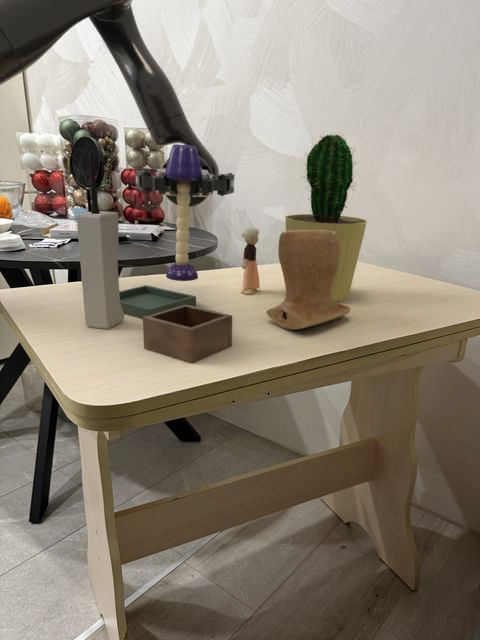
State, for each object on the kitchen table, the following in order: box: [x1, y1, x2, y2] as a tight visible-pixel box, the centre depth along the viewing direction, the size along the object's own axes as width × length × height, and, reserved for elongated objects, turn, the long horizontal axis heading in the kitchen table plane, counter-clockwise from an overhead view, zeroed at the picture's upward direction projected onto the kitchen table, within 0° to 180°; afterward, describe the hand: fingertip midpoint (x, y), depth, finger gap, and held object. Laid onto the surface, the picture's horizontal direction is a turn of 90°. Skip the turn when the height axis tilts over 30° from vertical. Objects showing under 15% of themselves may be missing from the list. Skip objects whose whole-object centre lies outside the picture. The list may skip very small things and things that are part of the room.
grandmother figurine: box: [240, 226, 260, 296], centre depth 101 cm, size 8×4×13 cm, turn 179°
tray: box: [119, 284, 197, 319], centre depth 90 cm, size 12×11×2 cm
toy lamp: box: [165, 143, 202, 282], centre depth 67 cm, size 5×5×17 cm
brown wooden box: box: [142, 304, 233, 364], centre depth 72 cm, size 9×9×4 cm
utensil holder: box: [76, 151, 125, 330], centre depth 76 cm, size 4×5×25 cm
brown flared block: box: [266, 230, 352, 331], centre depth 84 cm, size 15×12×15 cm
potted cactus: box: [284, 132, 368, 303], centre depth 98 cm, size 15×15×30 cm
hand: (183, 185), depth 63 cm, fingers closed on toy lamp, 4 cm apart
